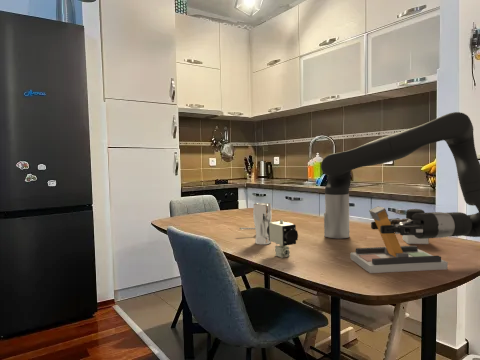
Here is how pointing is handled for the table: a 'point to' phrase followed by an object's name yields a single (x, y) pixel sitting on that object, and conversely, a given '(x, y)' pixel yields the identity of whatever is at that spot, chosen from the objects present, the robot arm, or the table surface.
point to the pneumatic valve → (282, 236)
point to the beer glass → (262, 222)
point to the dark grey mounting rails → (399, 259)
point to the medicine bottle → (411, 238)
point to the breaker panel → (366, 263)
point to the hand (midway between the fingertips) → (376, 227)
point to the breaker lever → (389, 238)
